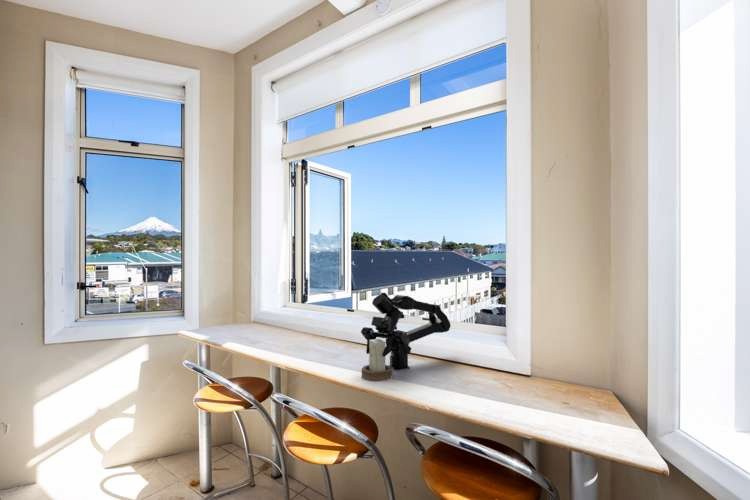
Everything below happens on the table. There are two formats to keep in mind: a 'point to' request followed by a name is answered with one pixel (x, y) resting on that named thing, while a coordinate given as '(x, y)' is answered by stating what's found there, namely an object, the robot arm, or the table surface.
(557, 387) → the table surface
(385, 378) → the walnut ring
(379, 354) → the skincare box
